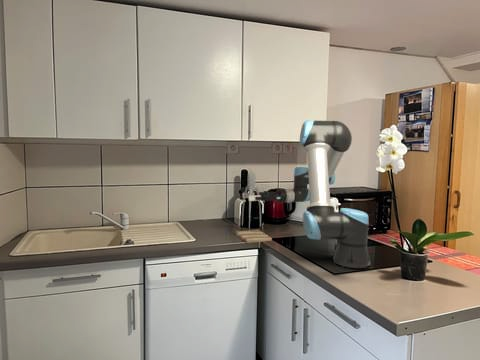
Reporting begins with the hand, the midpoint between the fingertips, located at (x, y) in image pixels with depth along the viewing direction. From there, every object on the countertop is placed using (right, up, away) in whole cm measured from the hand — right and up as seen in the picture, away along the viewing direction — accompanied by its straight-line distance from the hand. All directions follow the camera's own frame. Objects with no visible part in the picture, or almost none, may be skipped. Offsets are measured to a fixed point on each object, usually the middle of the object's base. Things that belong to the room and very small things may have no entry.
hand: (245, 196), depth 184 cm
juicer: (+4, -16, +3) cm, 17 cm away
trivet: (+4, -22, +4) cm, 23 cm away
